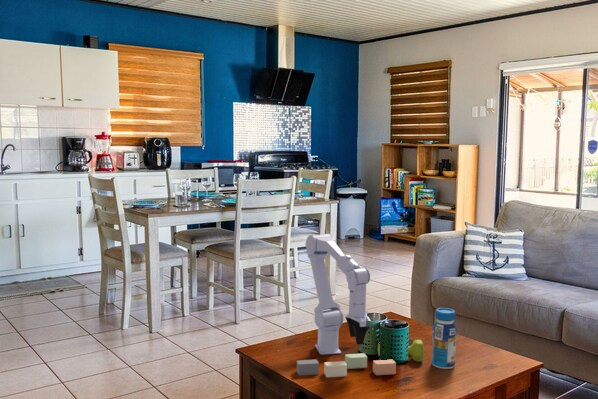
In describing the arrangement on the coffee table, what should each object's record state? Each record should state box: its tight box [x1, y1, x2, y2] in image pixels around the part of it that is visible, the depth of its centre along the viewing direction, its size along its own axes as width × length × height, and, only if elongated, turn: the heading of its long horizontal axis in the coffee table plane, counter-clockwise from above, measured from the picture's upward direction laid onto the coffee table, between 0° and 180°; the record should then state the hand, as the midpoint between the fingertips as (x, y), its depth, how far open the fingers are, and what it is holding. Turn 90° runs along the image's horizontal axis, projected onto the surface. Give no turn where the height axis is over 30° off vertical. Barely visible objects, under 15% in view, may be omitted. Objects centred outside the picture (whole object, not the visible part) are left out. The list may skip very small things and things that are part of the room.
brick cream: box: [323, 360, 348, 378], centre depth 200 cm, size 4×7×4 cm, turn 101°
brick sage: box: [344, 352, 368, 370], centre depth 208 cm, size 4×7×4 cm, turn 101°
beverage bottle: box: [431, 307, 458, 370], centre depth 209 cm, size 8×8×20 cm
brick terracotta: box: [372, 358, 397, 376], centre depth 202 cm, size 4×7×4 cm, turn 101°
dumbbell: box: [377, 339, 425, 363], centre depth 215 cm, size 16×8×7 cm, turn 84°
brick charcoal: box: [296, 358, 320, 376], centre depth 201 cm, size 4×7×4 cm, turn 101°
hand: (356, 340), depth 207 cm, fingers open, 7 cm apart
